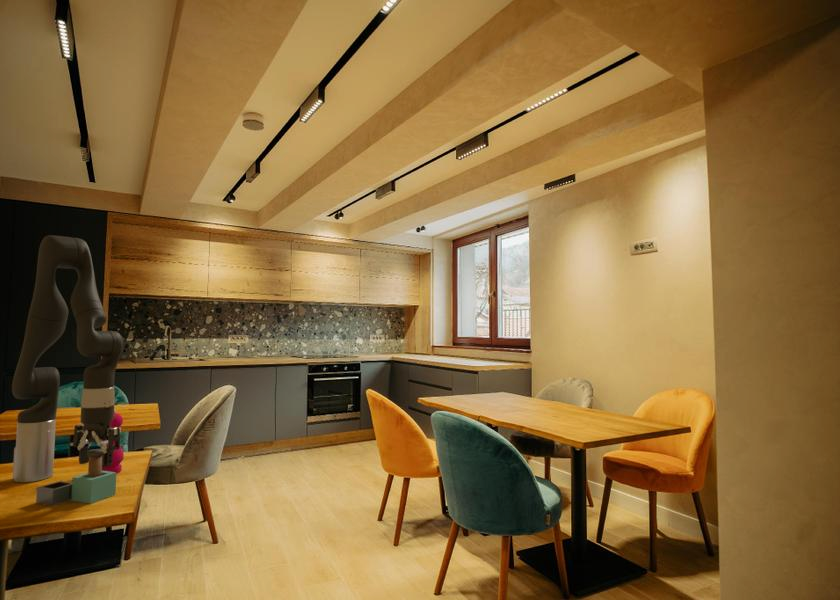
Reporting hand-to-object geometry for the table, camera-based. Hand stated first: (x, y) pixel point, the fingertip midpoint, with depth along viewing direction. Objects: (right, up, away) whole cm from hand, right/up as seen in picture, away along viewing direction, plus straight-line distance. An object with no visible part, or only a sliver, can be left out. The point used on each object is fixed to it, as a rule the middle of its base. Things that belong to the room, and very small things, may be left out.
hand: (95, 465), depth 129 cm
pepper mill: (-10, -10, +22) cm, 26 cm away
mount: (-8, -8, -3) cm, 12 cm away
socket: (0, -9, 0) cm, 9 cm away
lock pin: (0, -9, -1) cm, 9 cm away
